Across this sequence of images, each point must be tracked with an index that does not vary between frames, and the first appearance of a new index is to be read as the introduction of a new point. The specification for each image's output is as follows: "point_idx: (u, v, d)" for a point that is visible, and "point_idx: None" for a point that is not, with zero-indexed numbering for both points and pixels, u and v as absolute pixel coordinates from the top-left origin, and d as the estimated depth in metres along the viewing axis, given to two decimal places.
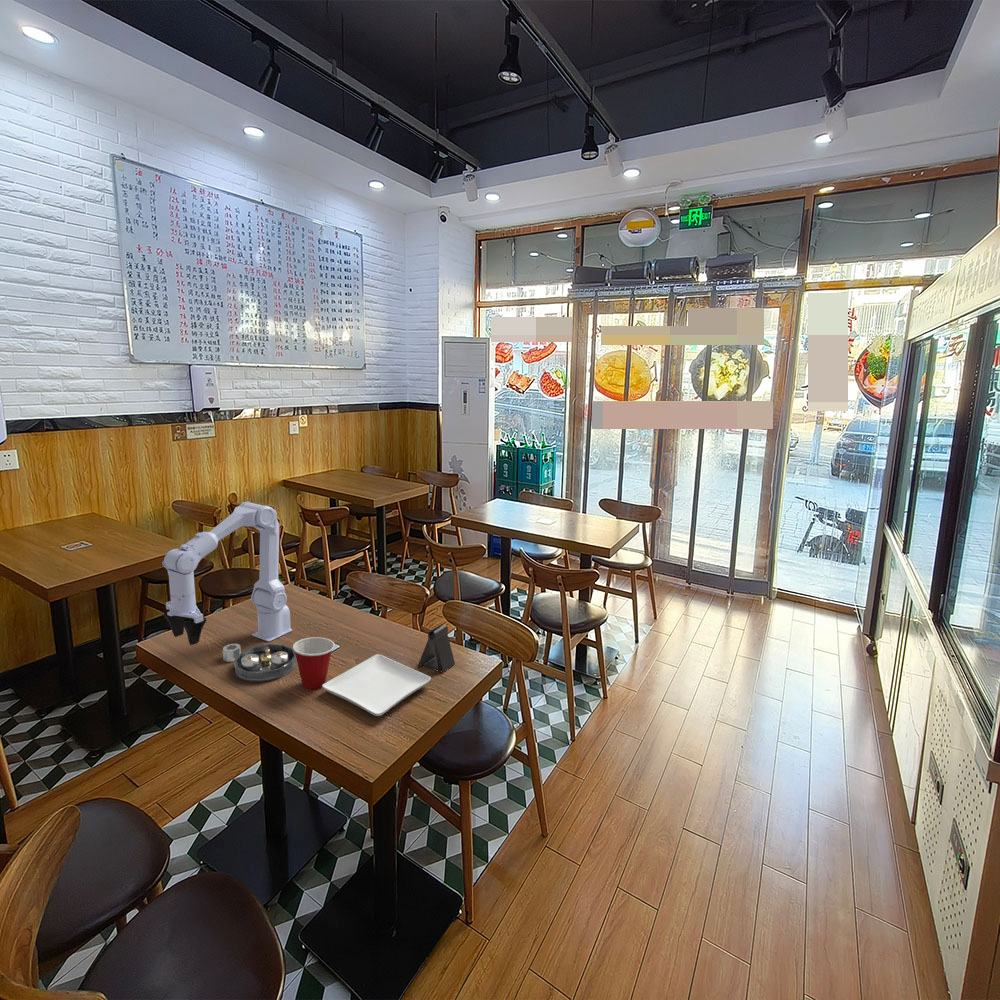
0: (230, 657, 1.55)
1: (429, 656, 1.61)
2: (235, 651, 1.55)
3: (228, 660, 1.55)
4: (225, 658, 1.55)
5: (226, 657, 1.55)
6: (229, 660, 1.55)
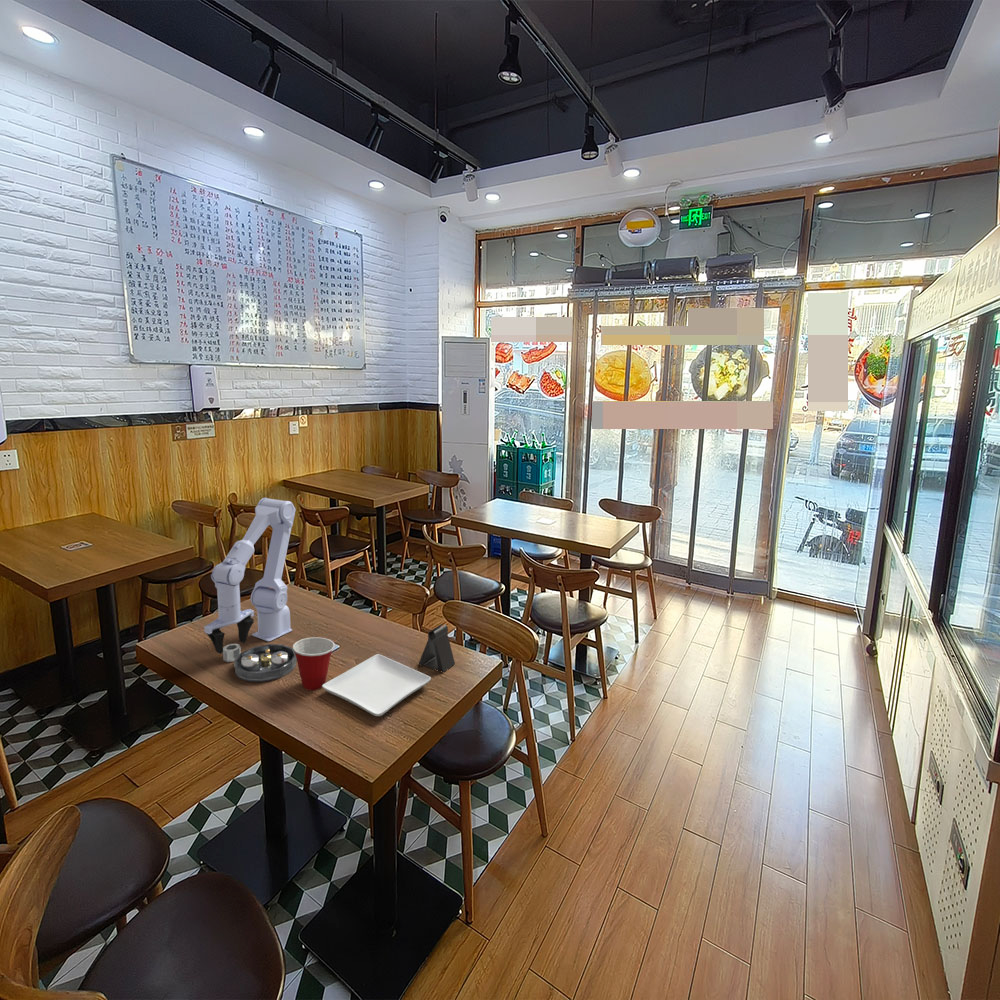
0: (230, 657, 1.55)
1: (429, 656, 1.61)
2: (235, 651, 1.55)
3: (228, 660, 1.55)
4: (225, 658, 1.55)
5: (226, 657, 1.55)
6: (229, 660, 1.55)
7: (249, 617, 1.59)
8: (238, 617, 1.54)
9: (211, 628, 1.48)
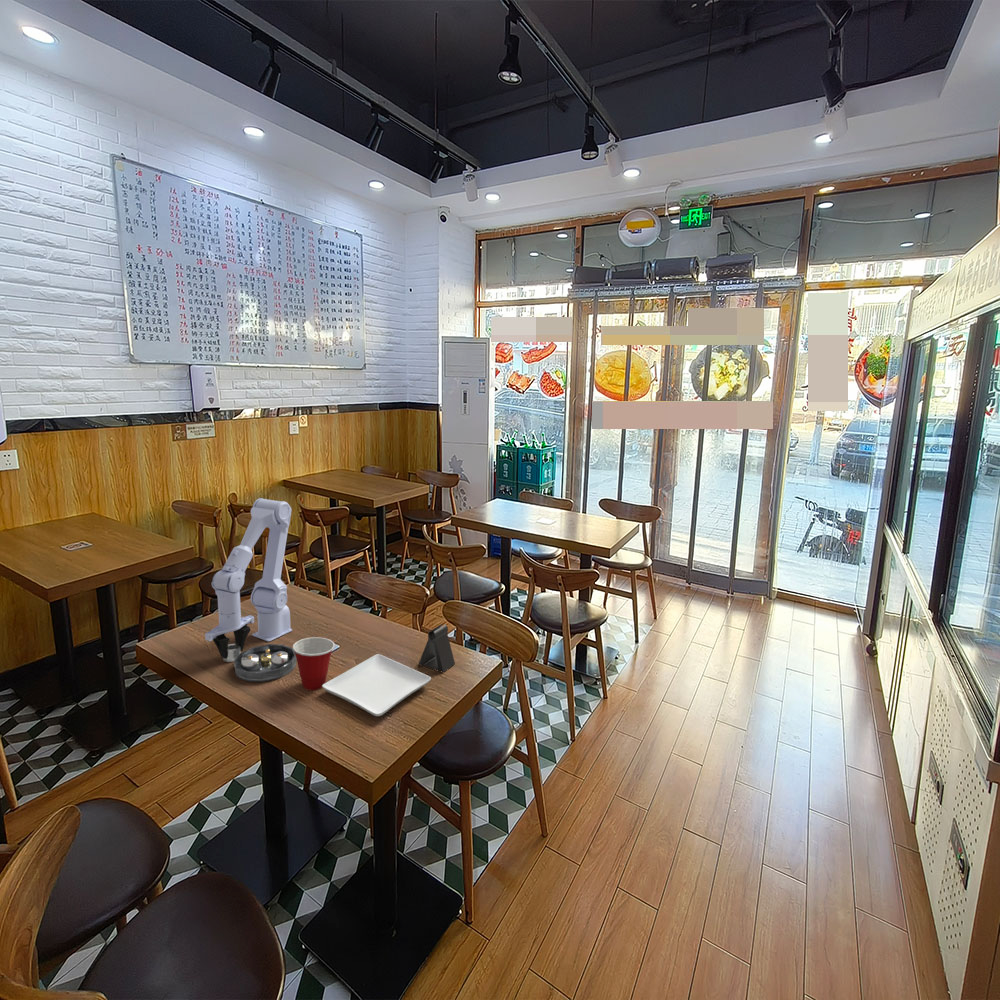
0: (230, 657, 1.55)
1: (429, 656, 1.61)
2: (235, 651, 1.55)
3: (228, 660, 1.55)
4: None
5: None
6: (229, 660, 1.55)
7: None
8: (238, 624, 1.54)
9: (212, 635, 1.49)
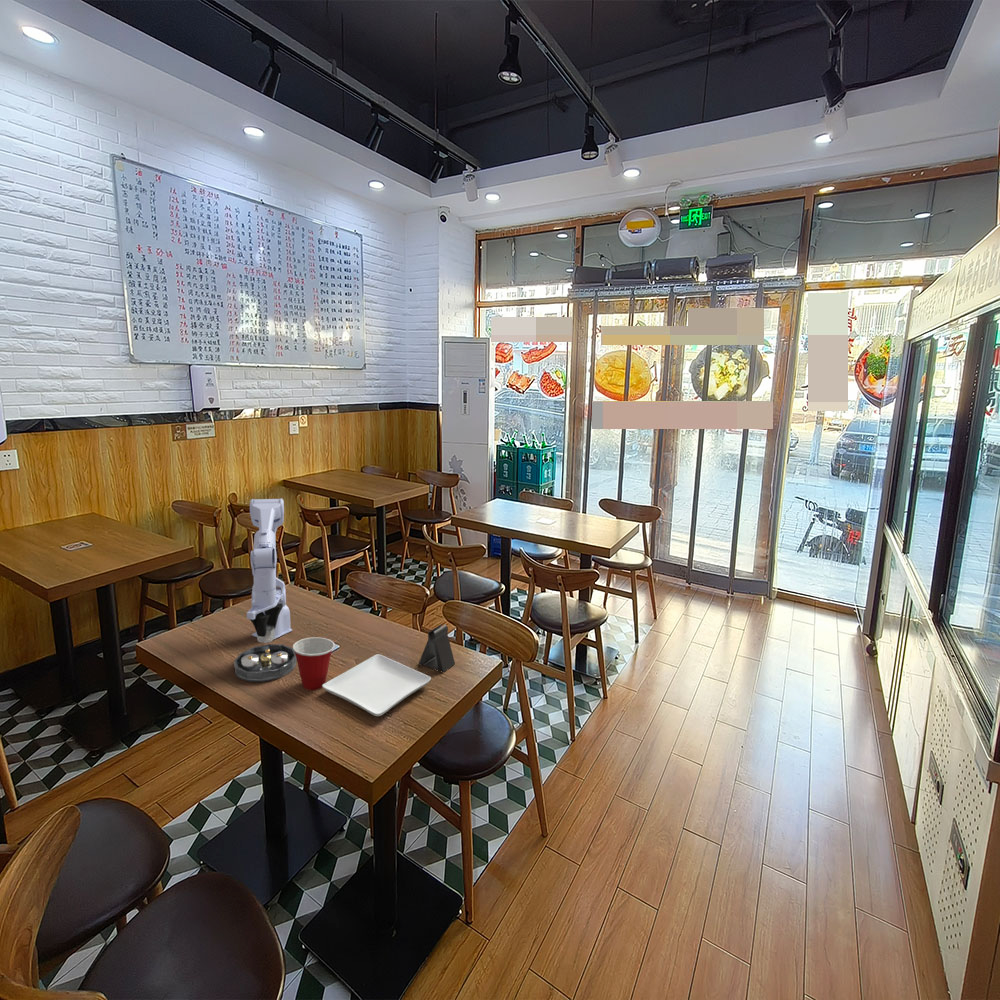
0: (267, 638, 1.54)
1: (429, 656, 1.61)
2: (271, 631, 1.55)
3: (265, 641, 1.54)
4: (261, 639, 1.54)
5: (263, 638, 1.54)
6: (266, 641, 1.54)
7: (279, 601, 1.60)
8: (275, 601, 1.54)
9: (255, 613, 1.48)
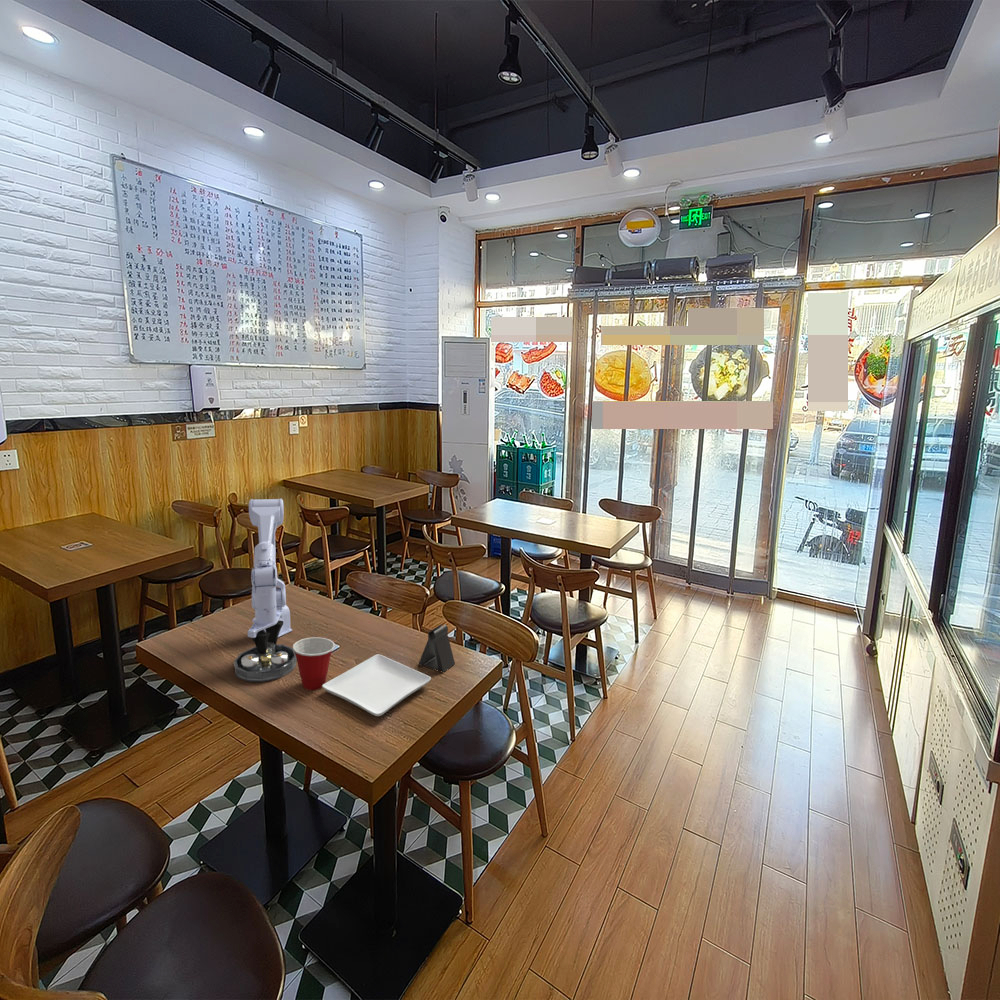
0: None
1: (429, 656, 1.61)
2: (272, 648, 1.56)
3: None
4: None
5: None
6: None
7: (280, 618, 1.61)
8: (276, 618, 1.55)
9: (255, 631, 1.49)
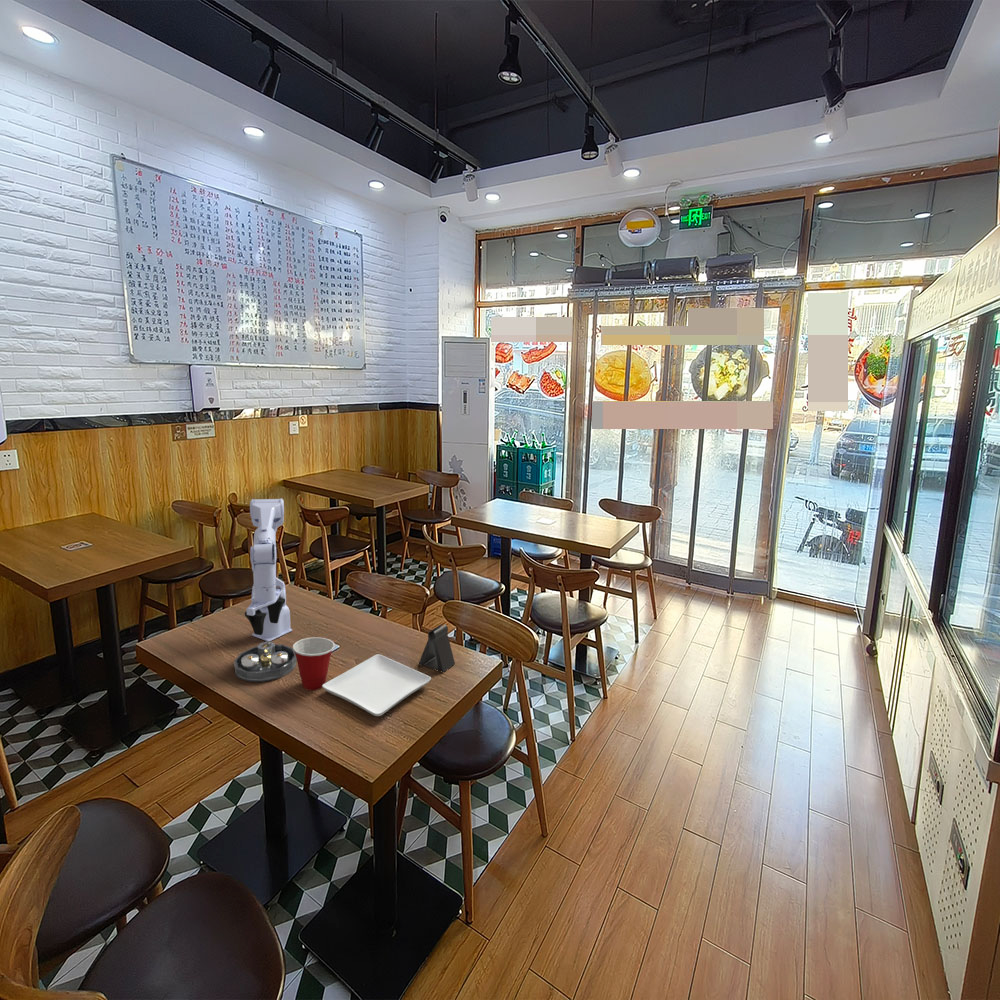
0: None
1: (429, 656, 1.61)
2: (272, 648, 1.56)
3: None
4: None
5: None
6: None
7: (279, 597, 1.59)
8: (275, 597, 1.54)
9: (254, 609, 1.47)
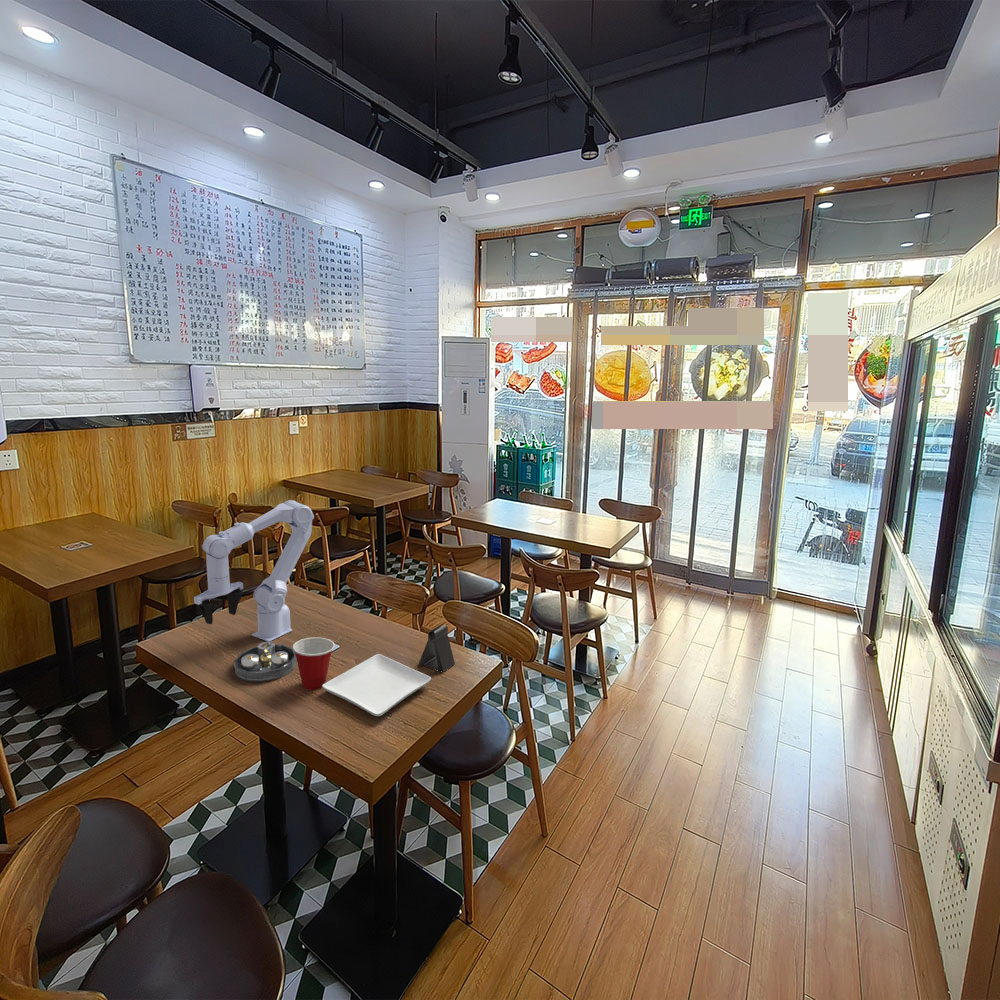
0: None
1: (429, 656, 1.61)
2: (272, 648, 1.56)
3: None
4: None
5: None
6: None
7: (238, 590, 1.63)
8: (227, 589, 1.57)
9: (200, 599, 1.52)
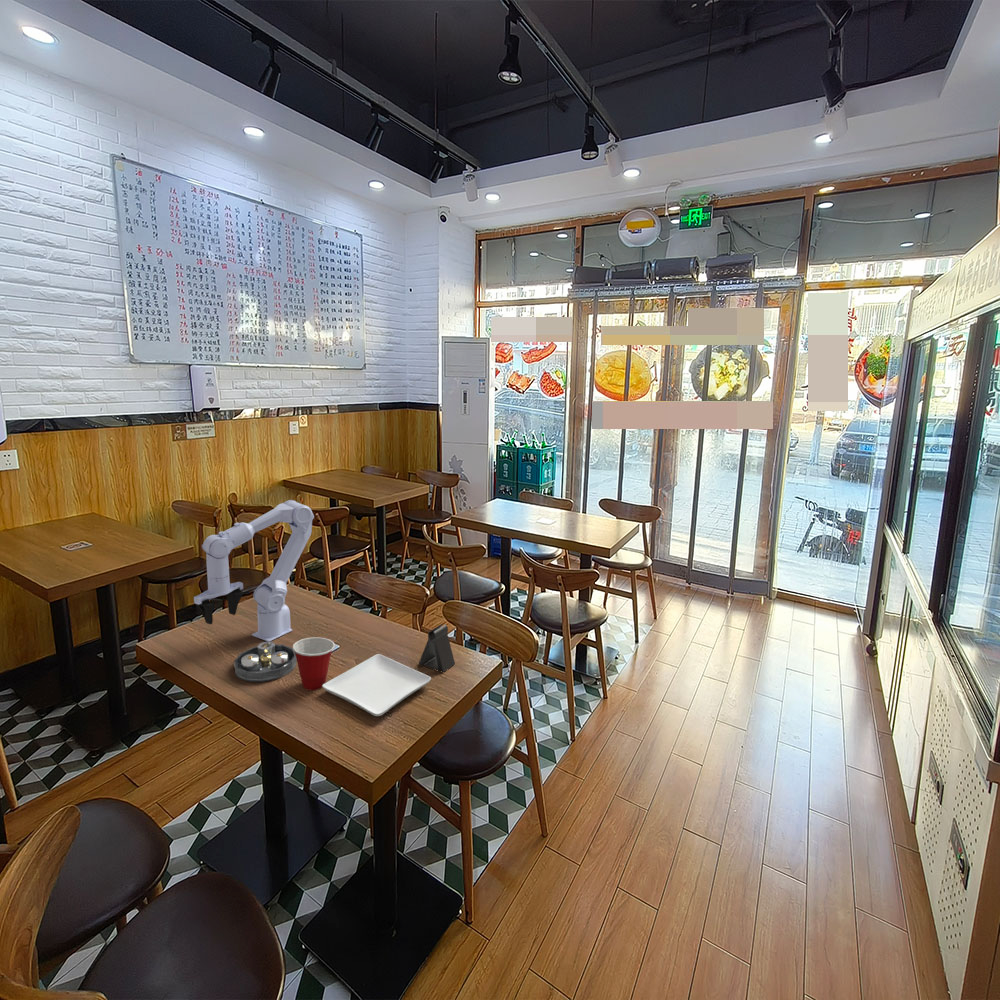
0: None
1: (429, 656, 1.61)
2: (272, 648, 1.56)
3: None
4: None
5: None
6: None
7: (238, 590, 1.63)
8: (227, 589, 1.57)
9: (200, 599, 1.52)
